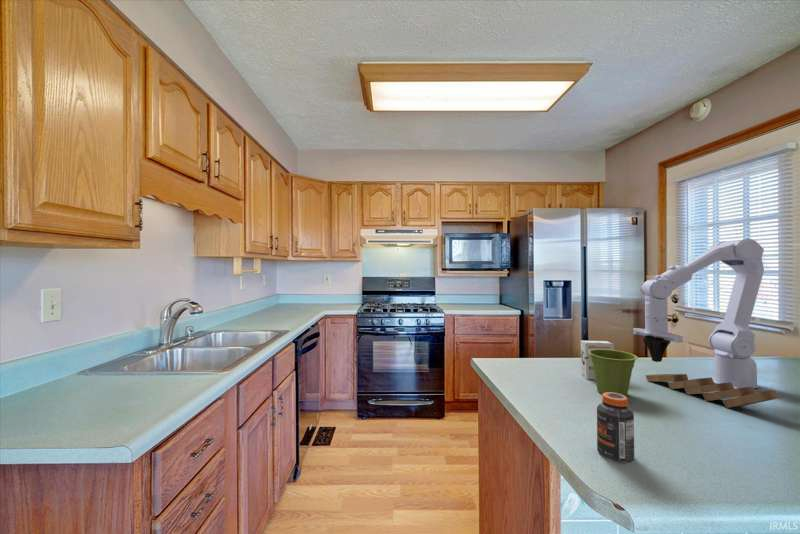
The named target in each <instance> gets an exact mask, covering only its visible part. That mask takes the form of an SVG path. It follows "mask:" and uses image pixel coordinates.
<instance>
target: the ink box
mask: <svg viewBox="0 0 800 534" xmlns="http://www.w3.org/2000/svg"><path fill="white" fill-rule="evenodd" d="M614 345H615V344H614V343H612V342H610V341H608V340H582V339H580V372H581V376H582V377H584V378H585V379H586V380H595V381H596V379H595V374H594V368H593V362H592V360H591V355H590V354H589V353H588V351H589V350H593V349H608V350H615V346H614Z"/></svg>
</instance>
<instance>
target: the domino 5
mask: <svg viewBox="0 0 800 534" xmlns="http://www.w3.org/2000/svg"><path fill="white" fill-rule="evenodd" d="M778 399H781V397H780V395H779V393H778V392H777V391H776V390H766V391H756V393H753V394H748V395H744V396H739V397H732V398H726V399H722V400H721V401H722V403H723V404H724V406H725V408H726V409H730V408H731V407H732V408H737V407H738V408H739V407H745V406H748V405H749V406H750V405H754V404H758V403H763V402H764V403H765V402H768V401H775V400H778ZM732 408H731V409H732Z"/></svg>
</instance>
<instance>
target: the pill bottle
mask: <svg viewBox="0 0 800 534" xmlns="http://www.w3.org/2000/svg"><path fill="white" fill-rule="evenodd" d="M601 395H602V397H601V398H602V402H601V403H598V405H597V407H596V450H597V452H598V453H599V454H600V456H602V457H603V458H605V459H606V460H609V461H611V462H615V463H620V464H630V463H632V462H634V460H635V414H634V412H633V410H632V409H631V408H629V407H628V404H629V403H628V397H627V396H624V395H622V394H618V393H613V392H606V393H603V394H601Z"/></svg>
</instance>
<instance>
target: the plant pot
mask: <svg viewBox="0 0 800 534" xmlns="http://www.w3.org/2000/svg"><path fill="white" fill-rule="evenodd" d="M588 353H589V354H590V355H591V360H592V362H593V368H594V374H595V379H596V380H595V379H594V380H595V383H596V391H597V392H599V393H600V394H601V395H602V394H603V393H606V392H613V393H618V394H622V395H624V396H626V397H627V396H628V393H629V388H630V384H631V377H632V373H633V369H634V366H635V363H636V361H637V360H638V356H637V355H635V354H633V353H631V352H627V351H624V350H623V351H621V350H615V349H614V350H608V349H593V350H589V351H588Z"/></svg>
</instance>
